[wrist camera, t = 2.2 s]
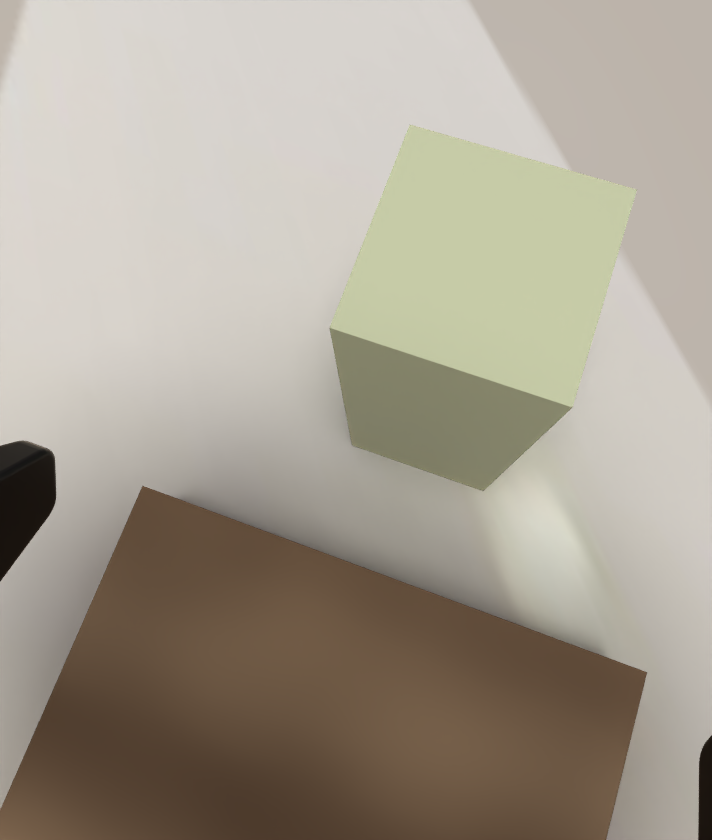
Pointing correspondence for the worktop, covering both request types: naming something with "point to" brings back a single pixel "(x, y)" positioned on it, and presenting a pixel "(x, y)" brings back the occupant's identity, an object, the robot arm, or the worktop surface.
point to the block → (473, 305)
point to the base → (310, 705)
